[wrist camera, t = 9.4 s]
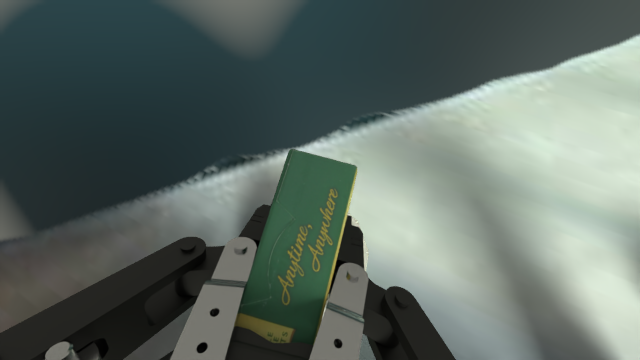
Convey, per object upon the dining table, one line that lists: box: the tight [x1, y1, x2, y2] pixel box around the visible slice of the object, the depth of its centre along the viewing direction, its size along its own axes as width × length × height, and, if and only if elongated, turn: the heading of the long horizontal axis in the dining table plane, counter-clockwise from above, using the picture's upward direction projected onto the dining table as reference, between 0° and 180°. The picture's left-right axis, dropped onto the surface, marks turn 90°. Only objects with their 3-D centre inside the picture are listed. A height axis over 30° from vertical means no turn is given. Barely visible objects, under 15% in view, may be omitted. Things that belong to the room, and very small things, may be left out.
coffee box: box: [236, 149, 357, 345], centre depth 14 cm, size 8×3×13 cm, turn 165°
